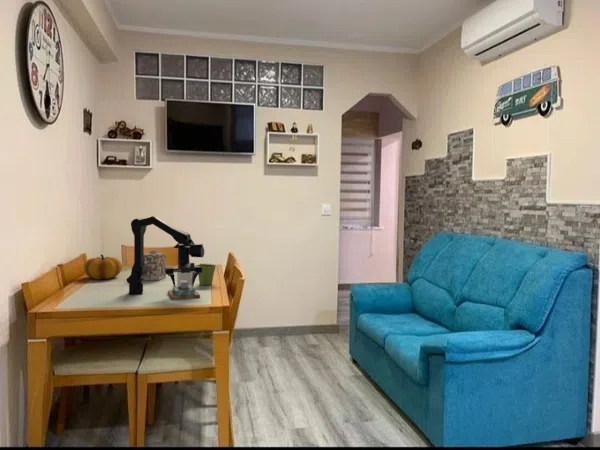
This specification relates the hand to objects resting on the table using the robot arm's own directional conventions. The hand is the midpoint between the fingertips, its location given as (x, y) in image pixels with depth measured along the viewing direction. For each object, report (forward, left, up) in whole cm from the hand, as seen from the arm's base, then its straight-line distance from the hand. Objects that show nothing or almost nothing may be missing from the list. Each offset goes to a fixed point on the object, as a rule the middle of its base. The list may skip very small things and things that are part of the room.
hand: (183, 286), depth 236 cm
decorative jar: (-10, +54, -5) cm, 55 cm away
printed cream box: (+4, +20, -5) cm, 21 cm away
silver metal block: (0, 0, -3) cm, 3 cm away
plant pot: (+17, +26, -5) cm, 32 cm away
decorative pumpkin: (-39, +66, -5) cm, 77 cm away
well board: (0, 0, -5) cm, 5 cm away
